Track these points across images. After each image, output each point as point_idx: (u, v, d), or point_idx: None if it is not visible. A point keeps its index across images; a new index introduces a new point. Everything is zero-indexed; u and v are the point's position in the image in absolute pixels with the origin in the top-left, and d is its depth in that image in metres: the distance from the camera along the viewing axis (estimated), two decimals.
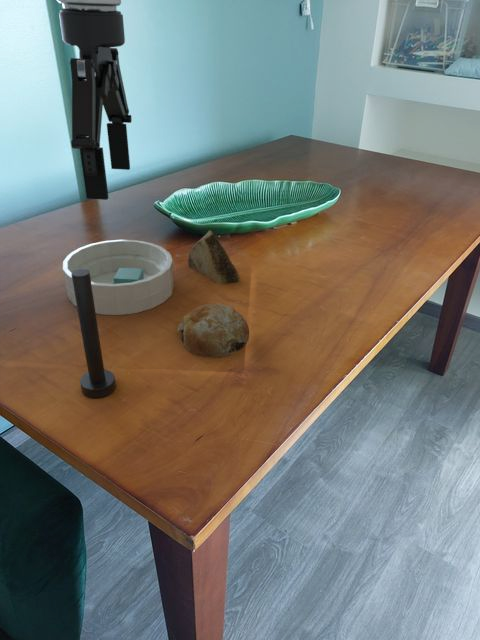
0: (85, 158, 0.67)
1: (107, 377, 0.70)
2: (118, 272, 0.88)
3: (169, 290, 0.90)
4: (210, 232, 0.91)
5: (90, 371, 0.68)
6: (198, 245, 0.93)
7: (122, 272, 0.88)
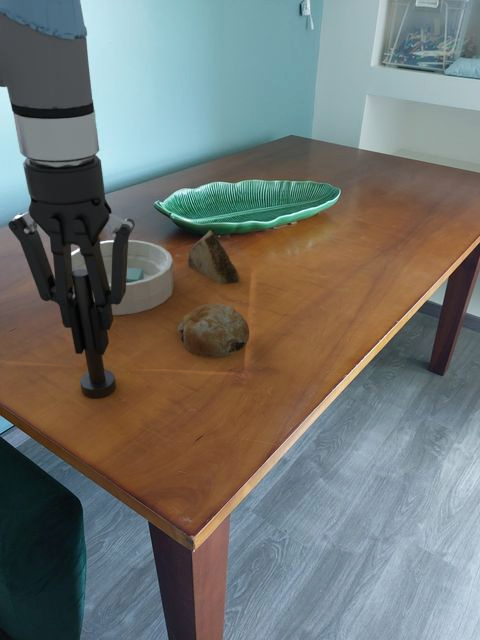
0: (109, 313, 0.64)
1: (107, 377, 0.70)
2: None
3: (169, 290, 0.90)
4: (210, 232, 0.91)
5: (90, 371, 0.68)
6: (198, 245, 0.93)
7: None
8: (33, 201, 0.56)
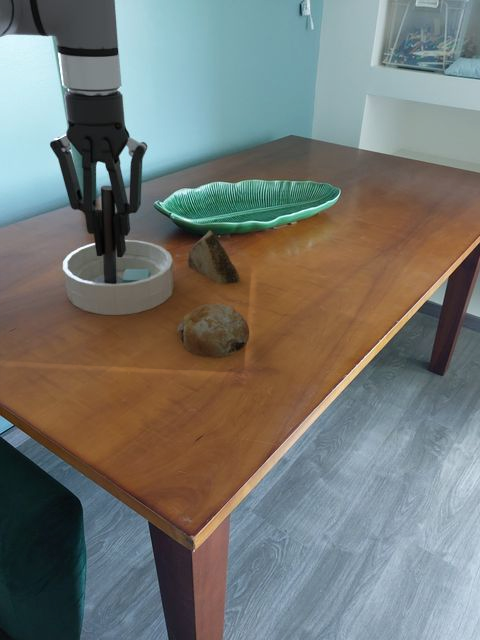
0: (127, 221, 0.81)
1: (118, 280, 0.88)
2: (125, 273, 0.88)
3: (169, 290, 0.90)
4: (210, 232, 0.91)
5: (106, 272, 0.85)
6: (198, 245, 0.93)
7: (130, 273, 0.88)
8: (70, 125, 0.73)
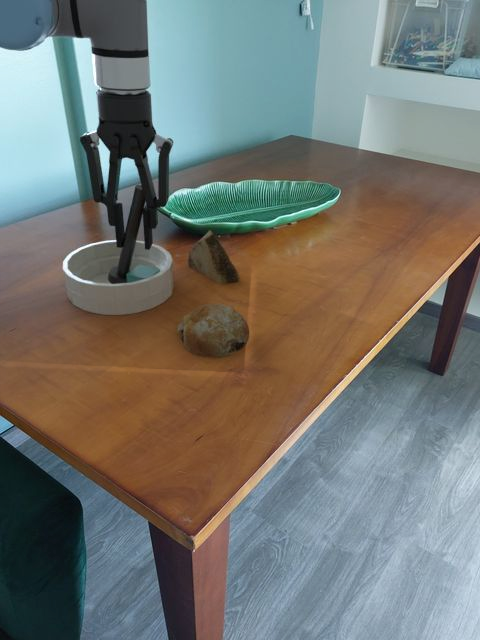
0: (156, 215, 0.84)
1: None
2: (134, 268, 0.89)
3: (169, 290, 0.90)
4: (210, 232, 0.91)
5: (119, 263, 0.89)
6: (198, 245, 0.93)
7: (138, 270, 0.89)
8: (100, 123, 0.76)
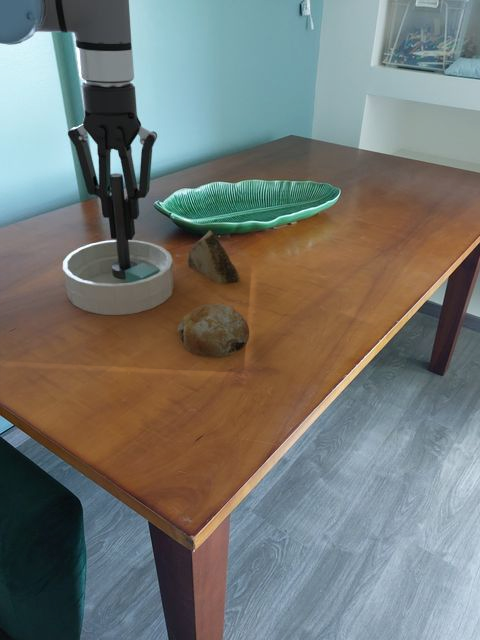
0: (137, 206, 0.87)
1: (129, 268, 0.92)
2: (136, 266, 0.90)
3: (169, 290, 0.90)
4: (210, 232, 0.91)
5: None
6: (198, 245, 0.93)
7: (139, 267, 0.90)
8: (86, 115, 0.78)
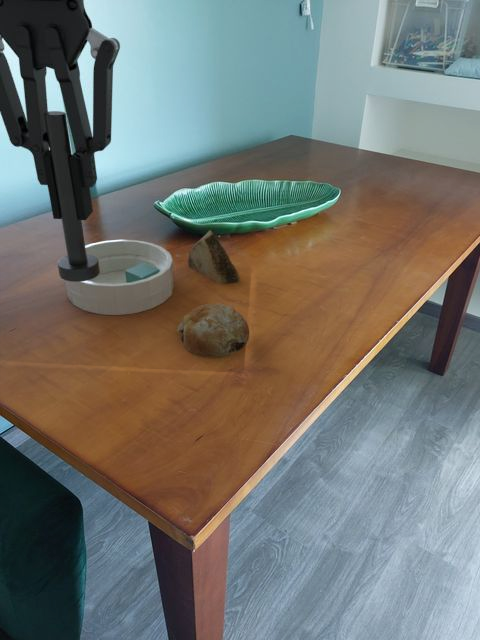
0: (91, 165, 0.55)
1: (84, 264, 0.59)
2: (136, 266, 0.90)
3: (169, 290, 0.90)
4: (210, 232, 0.91)
5: None
6: (198, 245, 0.93)
7: (139, 267, 0.90)
8: None
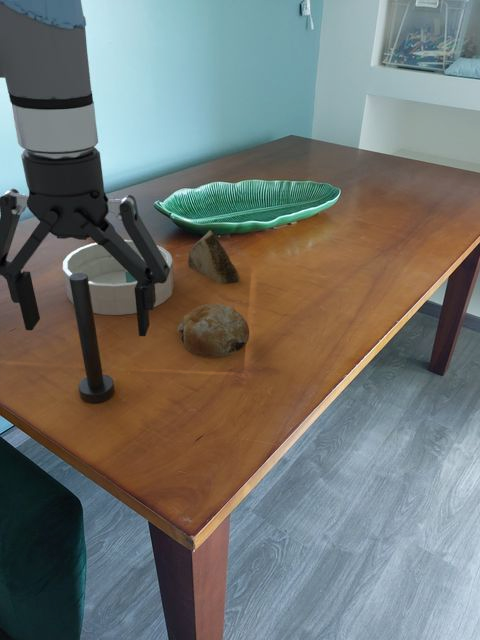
0: (153, 292, 0.62)
1: (101, 388, 0.69)
2: None
3: (169, 290, 0.90)
4: (210, 232, 0.91)
5: None
6: (198, 245, 0.93)
7: None
8: (31, 193, 0.55)
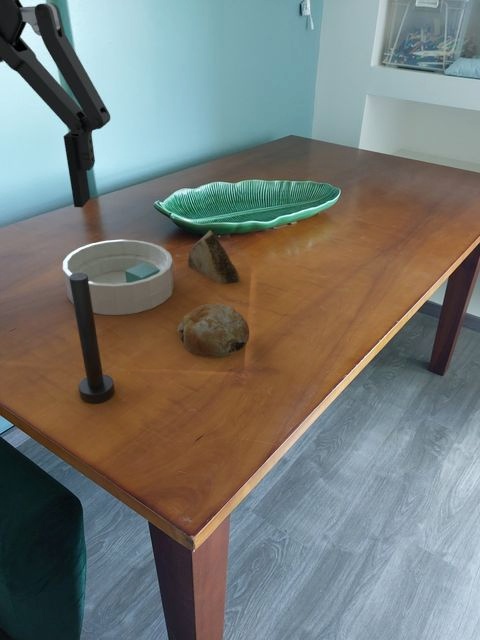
0: (89, 145, 0.49)
1: (101, 388, 0.69)
2: (136, 266, 0.90)
3: (169, 290, 0.90)
4: (210, 232, 0.91)
5: None
6: (198, 245, 0.93)
7: (139, 267, 0.90)
8: None
